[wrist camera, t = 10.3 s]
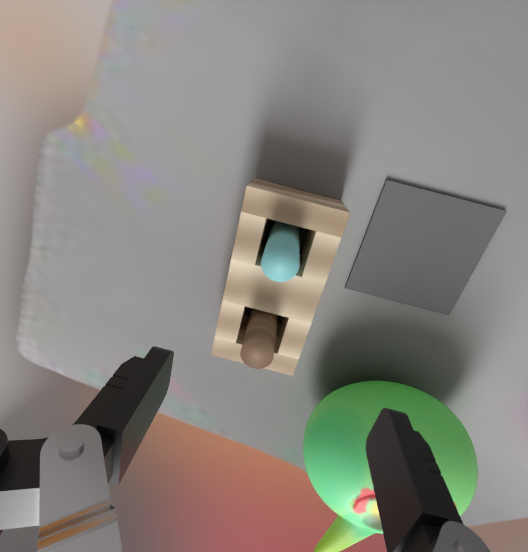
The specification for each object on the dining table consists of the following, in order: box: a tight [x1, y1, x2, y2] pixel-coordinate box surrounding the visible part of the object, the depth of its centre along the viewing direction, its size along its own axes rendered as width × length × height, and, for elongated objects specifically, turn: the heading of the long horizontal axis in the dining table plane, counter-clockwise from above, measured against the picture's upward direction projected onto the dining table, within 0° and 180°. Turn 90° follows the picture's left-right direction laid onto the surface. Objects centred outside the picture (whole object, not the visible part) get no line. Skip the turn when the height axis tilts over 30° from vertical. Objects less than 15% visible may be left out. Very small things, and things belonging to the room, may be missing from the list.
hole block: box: [211, 178, 350, 376], centre depth 33 cm, size 18×9×6 cm, turn 167°
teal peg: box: [261, 221, 300, 282], centre depth 29 cm, size 3×3×10 cm
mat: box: [345, 180, 506, 315], centre depth 33 cm, size 12×12×1 cm
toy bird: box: [303, 381, 478, 552], centre depth 35 cm, size 18×17×15 cm
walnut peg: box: [240, 308, 278, 369], centre depth 33 cm, size 3×3×10 cm
